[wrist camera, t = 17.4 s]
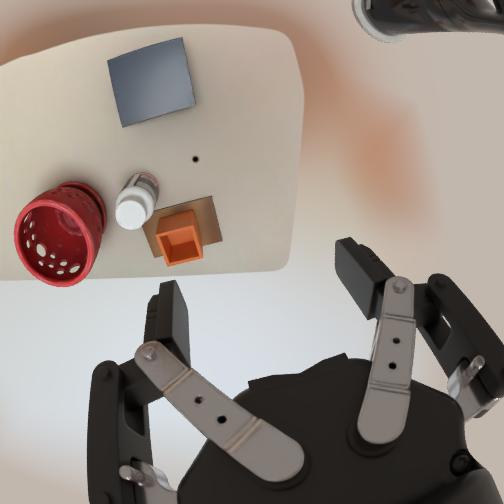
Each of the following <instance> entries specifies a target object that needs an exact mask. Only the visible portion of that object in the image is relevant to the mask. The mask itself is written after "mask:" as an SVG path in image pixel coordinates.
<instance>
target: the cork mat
mask: <svg viewBox="0 0 504 504" xmlns="http://www.w3.org/2000/svg"><path fill="white" fill-rule="evenodd" d="M192 209H193V211H194V214H195V218H196V221H197V225H198V228H199V232H200V235H201V238H202V246H204V245H208V244H212V243H216V242H220V241H222V236H221V232H220V228H219V224H218V220H217V216H216V212H215V208H214V204H213V200H212V196H210V197H205V198H201V199H197V200H194V201H190V202H186V203H182V204H178V205H174V206H171V207H167V208H163V209H160V210H156V211H154V212H153V214H152V216H151V217H150V218H149V219H148V220H147V221H146V222H144V224H143V225H142V227H143V230H144V233H145V235H146V238H147V240H148V243H149V245H150V248H151V250H152V253H153V255H154V258H156V257H160V256H163V254H162V251H161V249H160V246H159V243H158V241H157V238H156V235H155V234H156V230H157V226H158V221H159V218H162V217H166V216H169V215H173V214H177V213H181V212H185V211H188V210H192Z"/></svg>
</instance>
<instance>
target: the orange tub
mask: <svg viewBox="0 0 504 504" xmlns="http://www.w3.org/2000/svg"><path fill="white" fill-rule="evenodd" d="M155 235H156V238H157V241H158V243H159V246H160V249H161V251H162V254H163V256H164V259H165V261H166V264H167V266H172V265H176V264H180V263H184V262H188V261H192V260H196V259H200V258H203V249H202V238H201V235H200V232H199V228H198V225H197V221H196V218H195V214H194V211H193V209H192V210H188V211H185V212H181V213H177V214H173V215H169V216H166V217H162V218H159V221H158V226H157V230H156V234H155Z"/></svg>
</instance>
